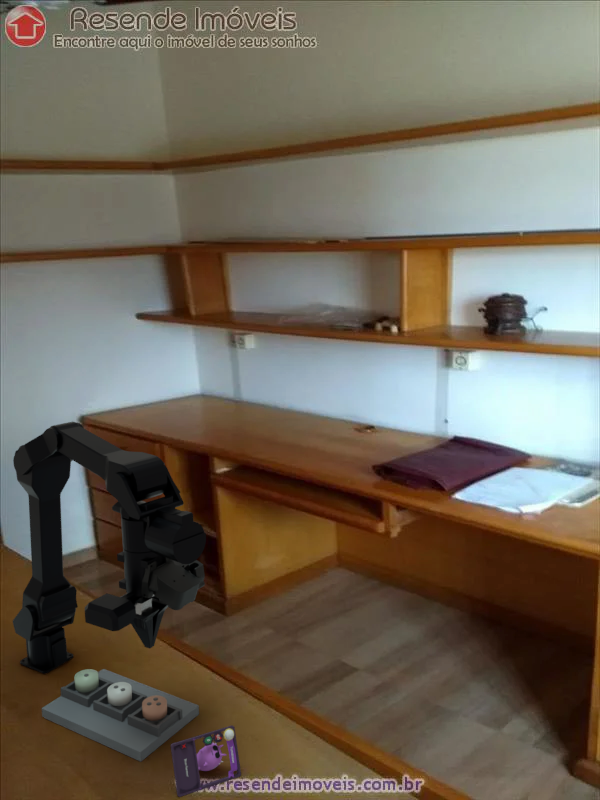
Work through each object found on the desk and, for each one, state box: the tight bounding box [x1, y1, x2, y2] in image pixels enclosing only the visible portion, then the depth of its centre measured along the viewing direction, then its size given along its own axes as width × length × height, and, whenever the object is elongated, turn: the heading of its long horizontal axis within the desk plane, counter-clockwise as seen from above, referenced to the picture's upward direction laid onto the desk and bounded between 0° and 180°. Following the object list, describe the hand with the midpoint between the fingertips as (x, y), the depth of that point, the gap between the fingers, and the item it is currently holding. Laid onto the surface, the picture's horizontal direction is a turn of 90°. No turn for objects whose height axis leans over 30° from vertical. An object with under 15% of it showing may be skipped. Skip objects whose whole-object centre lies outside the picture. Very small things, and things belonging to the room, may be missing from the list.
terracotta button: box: [142, 695, 167, 721], centre depth 117 cm, size 4×4×2 cm
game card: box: [170, 724, 242, 798], centre depth 107 cm, size 7×5×9 cm
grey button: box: [107, 682, 132, 706], centre depth 120 cm, size 4×4×2 cm
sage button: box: [74, 668, 99, 692], centre depth 124 cm, size 4×4×2 cm
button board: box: [41, 668, 200, 762], centre depth 121 cm, size 20×13×3 cm, turn 59°
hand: (149, 646), depth 115 cm, fingers closed
